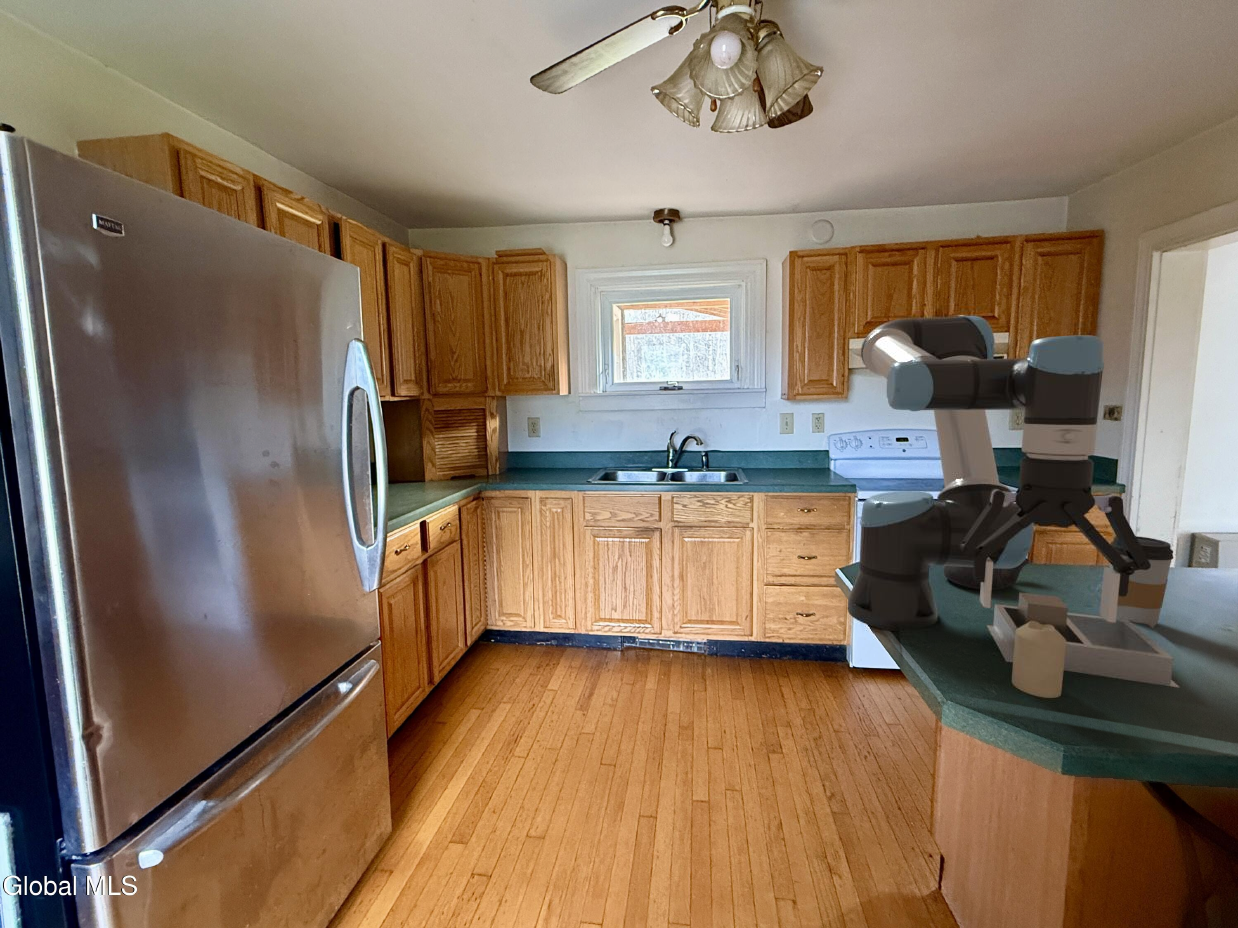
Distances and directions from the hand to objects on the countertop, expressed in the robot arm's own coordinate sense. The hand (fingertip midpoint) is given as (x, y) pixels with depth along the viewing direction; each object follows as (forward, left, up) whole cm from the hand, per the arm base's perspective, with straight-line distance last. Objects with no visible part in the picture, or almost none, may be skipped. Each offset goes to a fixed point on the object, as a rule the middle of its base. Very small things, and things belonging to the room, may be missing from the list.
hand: (1043, 611), depth 74 cm
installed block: (+4, +14, -11) cm, 19 cm away
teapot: (+4, +51, -12) cm, 52 cm away
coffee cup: (+23, +35, -12) cm, 44 cm away
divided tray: (+8, +14, -12) cm, 20 cm away
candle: (0, 0, -12) cm, 12 cm away
